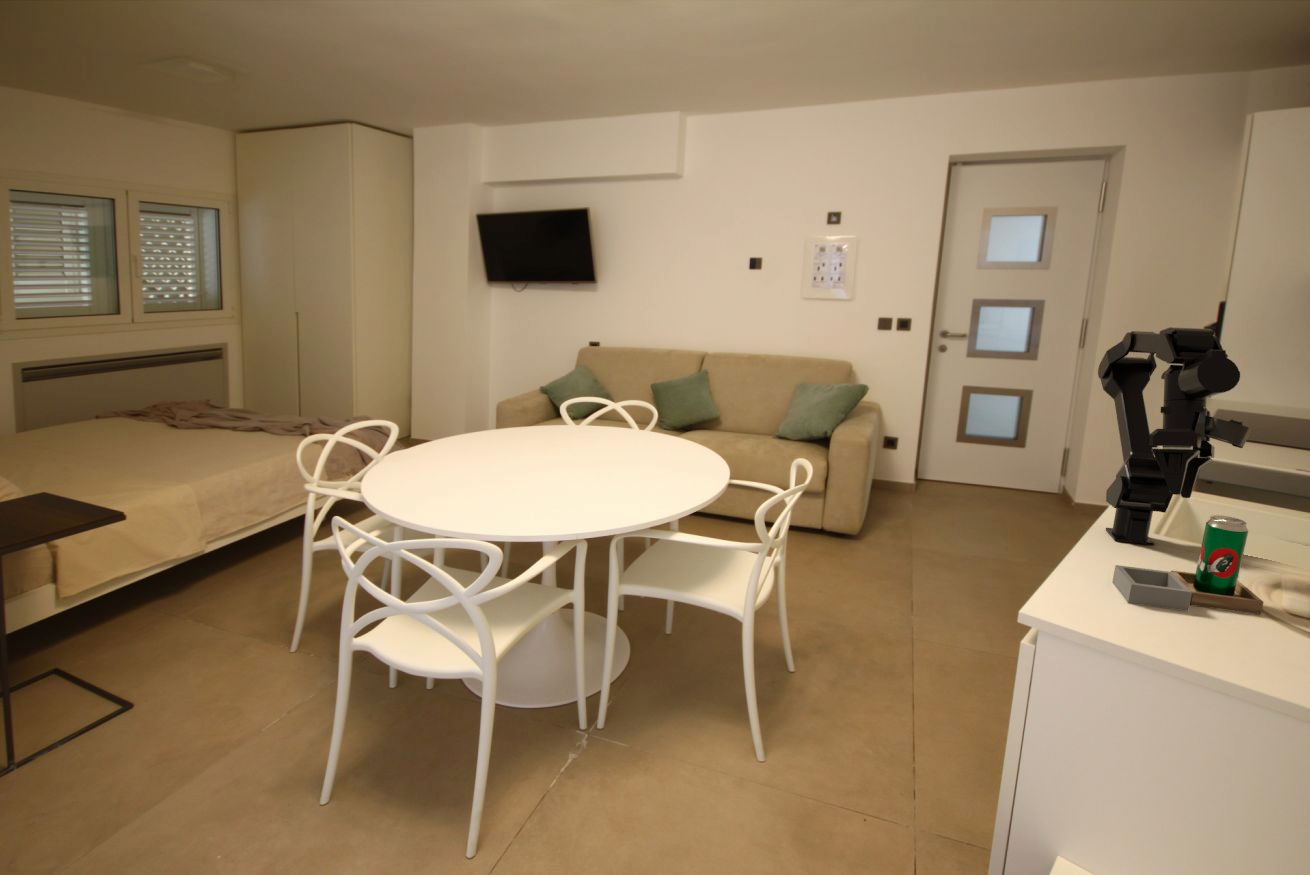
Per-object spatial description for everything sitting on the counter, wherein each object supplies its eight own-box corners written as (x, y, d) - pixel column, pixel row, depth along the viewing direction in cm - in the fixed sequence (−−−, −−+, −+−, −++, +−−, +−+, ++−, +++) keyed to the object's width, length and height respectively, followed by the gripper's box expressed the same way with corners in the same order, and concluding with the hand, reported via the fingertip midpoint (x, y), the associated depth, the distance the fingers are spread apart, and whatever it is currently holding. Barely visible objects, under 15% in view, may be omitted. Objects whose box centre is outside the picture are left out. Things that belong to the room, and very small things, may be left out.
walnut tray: (1168, 581, 115) (1171, 570, 115) (1233, 590, 113) (1235, 578, 112) (1190, 605, 107) (1193, 592, 107) (1260, 614, 105) (1263, 601, 104)
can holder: (1112, 582, 115) (1115, 564, 114) (1168, 589, 112) (1171, 571, 112) (1128, 602, 107) (1131, 584, 107) (1188, 611, 105) (1192, 592, 104)
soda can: (1242, 599, 108) (1259, 525, 105) (1213, 601, 107) (1230, 526, 104) (1211, 585, 113) (1226, 513, 110) (1184, 587, 112) (1199, 514, 109)
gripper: (1240, 391, 106) (1237, 496, 105) (1253, 409, 119) (1251, 503, 118) (1150, 394, 114) (1146, 491, 113) (1172, 410, 127) (1169, 498, 126)
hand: (1181, 496), depth 117 cm, fingers open, 9 cm apart
